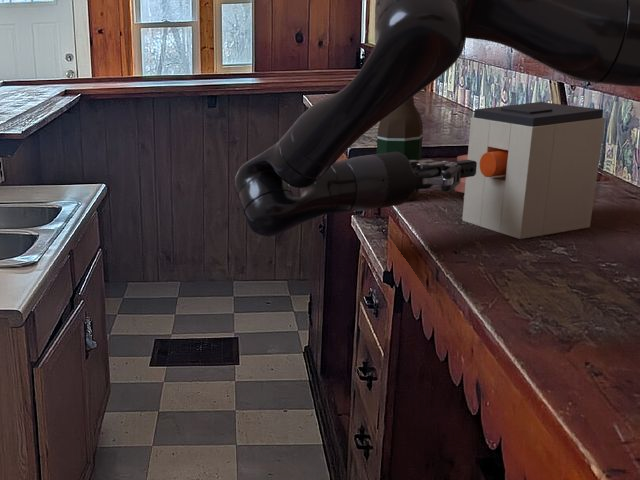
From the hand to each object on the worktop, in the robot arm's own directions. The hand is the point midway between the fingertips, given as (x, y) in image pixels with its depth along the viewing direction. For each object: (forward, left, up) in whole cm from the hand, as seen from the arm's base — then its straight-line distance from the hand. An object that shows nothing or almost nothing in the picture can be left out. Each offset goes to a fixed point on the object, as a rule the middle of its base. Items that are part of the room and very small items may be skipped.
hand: (472, 167), depth 126 cm
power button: (-2, -4, -2) cm, 5 cm away
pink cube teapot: (+6, -25, -10) cm, 27 cm away
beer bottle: (+20, -17, -10) cm, 28 cm away
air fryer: (-5, -9, -10) cm, 15 cm away
